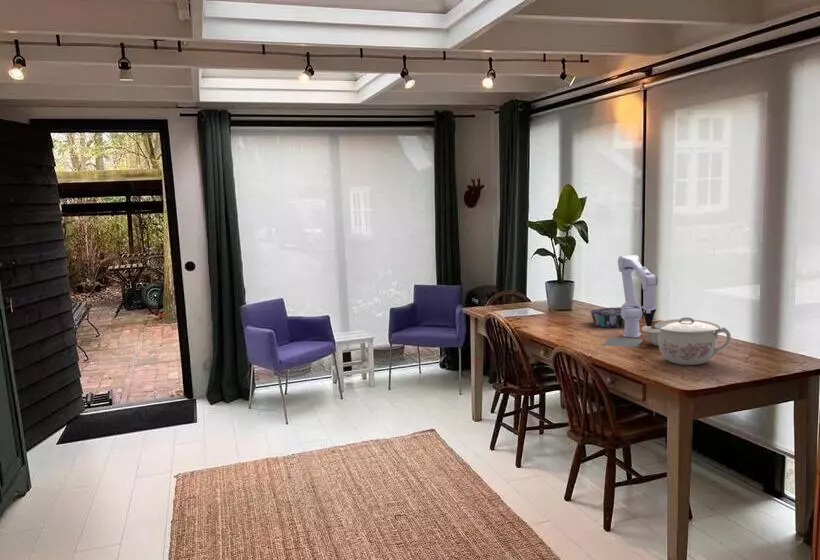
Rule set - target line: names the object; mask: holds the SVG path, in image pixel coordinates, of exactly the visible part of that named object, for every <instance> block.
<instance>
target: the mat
mask: <svg viewBox="0 0 820 560" xmlns="http://www.w3.org/2000/svg"><path fill="white" fill-rule="evenodd" d="M643 340H644V339H643V338H633V337H631V338H630V337H616V336H615V337H614V336H610V337H609V338H608V339H606V340H605V341H604V342H603V343H602V345H603V346H616V347H629V348H637V347H638V346H639V345H640V344H641V343H642V342H643Z"/></svg>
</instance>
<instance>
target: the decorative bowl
mask: <svg viewBox="0 0 820 560" xmlns="http://www.w3.org/2000/svg"><path fill="white" fill-rule="evenodd" d="M589 313H590V315H591V318H592V321H593V322H594V325H595V326H596V327H601V328H625V320H624V319H623V318H622V317H621V306H620V307H618V306H617V307H600V308H594V309H592V310H590V311H589Z"/></svg>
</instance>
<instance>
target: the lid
mask: <svg viewBox="0 0 820 560" xmlns="http://www.w3.org/2000/svg"><path fill="white" fill-rule="evenodd" d="M661 321H665V320H664V319H653V320H652V325H651V326H647V325H644V326H642V327H641V331H643V332H651V333H659V332H660V330H659V329H657V328H655V327H654V324H656V323H658V322H661Z"/></svg>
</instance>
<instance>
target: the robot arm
mask: <svg viewBox="0 0 820 560" xmlns="http://www.w3.org/2000/svg"><path fill="white" fill-rule="evenodd" d="M617 267H618V272H620V273H621V277H622V284H623V285H622V286H623V292H624V299H625V302H624V303H623V304H622V305H621V306H620V308H621V317H622V318H623V319H624V320H625V327H624V333H623V335H622V337H624V338H630V337H631V338H639V337H641V334H642V333H641V332H640V322H639V321H640V320H641V318H642V316H644V320H645V326H651V325H652V320H654V315H655V314H656V311H657V307H656V305H657V304H656V303H657V302H656V286H657V285H658V283H659V279H658V276H657V275H656V274H655V273H651V272H650V271H649V270H648V268H647V267H646V266H643V265H642V264H641V263H640V257H639V256H638V254H633V255H632V254H631V255H619V257H618V259H617ZM634 271H635V273H636V276H637V277H638V278H639V279H640V283H641V287H642V288H641V289H642V290H643V291H642V292H643V303H642V304H643V305H642V306H641V304H640V303H638V302H637V301H636V297H635V289H634V284H633V283H634V282H633V276H632V273H633V272H634ZM642 309H643V310H644V311H642Z"/></svg>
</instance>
